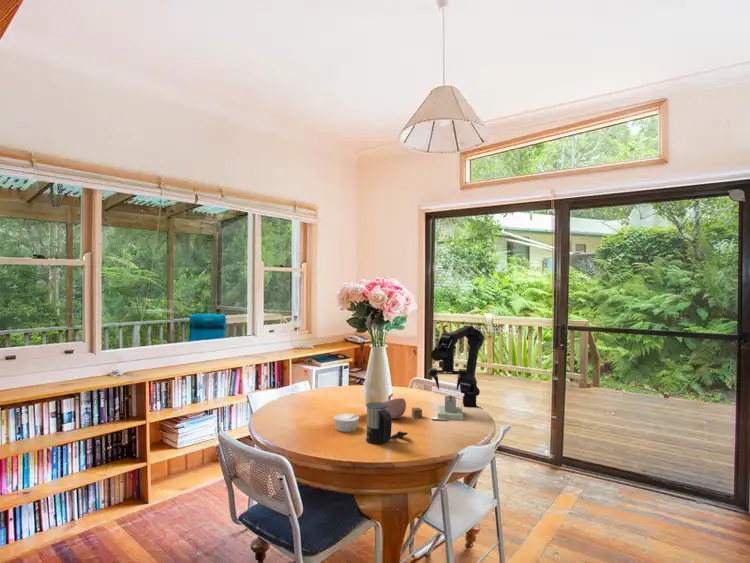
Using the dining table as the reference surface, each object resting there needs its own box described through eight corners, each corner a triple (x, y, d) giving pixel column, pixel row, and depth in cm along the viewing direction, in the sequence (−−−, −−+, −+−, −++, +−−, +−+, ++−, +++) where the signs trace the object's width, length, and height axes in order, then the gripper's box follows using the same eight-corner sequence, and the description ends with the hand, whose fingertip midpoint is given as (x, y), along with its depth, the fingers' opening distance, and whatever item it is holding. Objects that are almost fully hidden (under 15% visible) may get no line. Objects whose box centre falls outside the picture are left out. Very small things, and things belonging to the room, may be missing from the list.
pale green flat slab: (461, 411, 226) (461, 406, 226) (463, 420, 212) (463, 414, 212) (437, 410, 228) (437, 405, 228) (437, 418, 214) (437, 413, 214)
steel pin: (447, 421, 212) (447, 418, 212) (447, 420, 210) (447, 417, 211) (432, 420, 213) (432, 417, 213) (432, 420, 211) (432, 416, 212)
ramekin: (360, 432, 193) (360, 420, 193) (334, 433, 191) (334, 421, 191) (357, 424, 204) (357, 412, 204) (332, 425, 202) (332, 413, 202)
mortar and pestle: (397, 413, 222) (398, 390, 222) (410, 420, 211) (411, 396, 211) (376, 416, 216) (376, 392, 216) (388, 423, 206) (388, 398, 206)
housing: (455, 407, 224) (455, 395, 224) (455, 412, 215) (455, 399, 215) (444, 407, 224) (444, 394, 224) (444, 412, 216) (445, 399, 216)
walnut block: (419, 415, 219) (419, 407, 219) (422, 418, 215) (422, 410, 215) (411, 416, 218) (411, 408, 218) (414, 418, 214) (414, 410, 214)
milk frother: (360, 440, 183) (361, 404, 183) (385, 431, 195) (386, 397, 195) (387, 449, 174) (388, 411, 174) (411, 439, 186) (412, 403, 186)
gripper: (465, 356, 231) (465, 386, 231) (429, 355, 233) (429, 385, 233) (467, 360, 220) (467, 391, 220) (429, 359, 222) (429, 390, 222)
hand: (447, 389), depth 224 cm, fingers open, 9 cm apart
